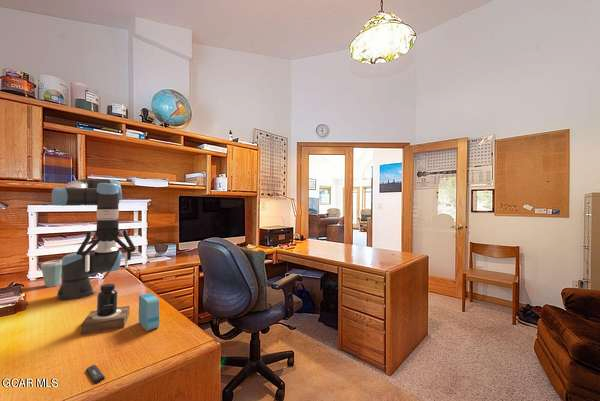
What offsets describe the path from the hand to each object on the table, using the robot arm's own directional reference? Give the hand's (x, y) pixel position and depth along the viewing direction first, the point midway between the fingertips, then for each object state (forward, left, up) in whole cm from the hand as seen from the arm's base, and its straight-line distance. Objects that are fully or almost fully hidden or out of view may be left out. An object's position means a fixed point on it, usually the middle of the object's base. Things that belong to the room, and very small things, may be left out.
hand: (107, 269), depth 111 cm
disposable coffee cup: (-77, -43, -23) cm, 91 cm away
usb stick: (+39, +5, -23) cm, 46 cm away
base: (+1, 0, -23) cm, 23 cm away
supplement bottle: (+1, 0, -19) cm, 19 cm away
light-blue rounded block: (+10, +16, -23) cm, 30 cm away
